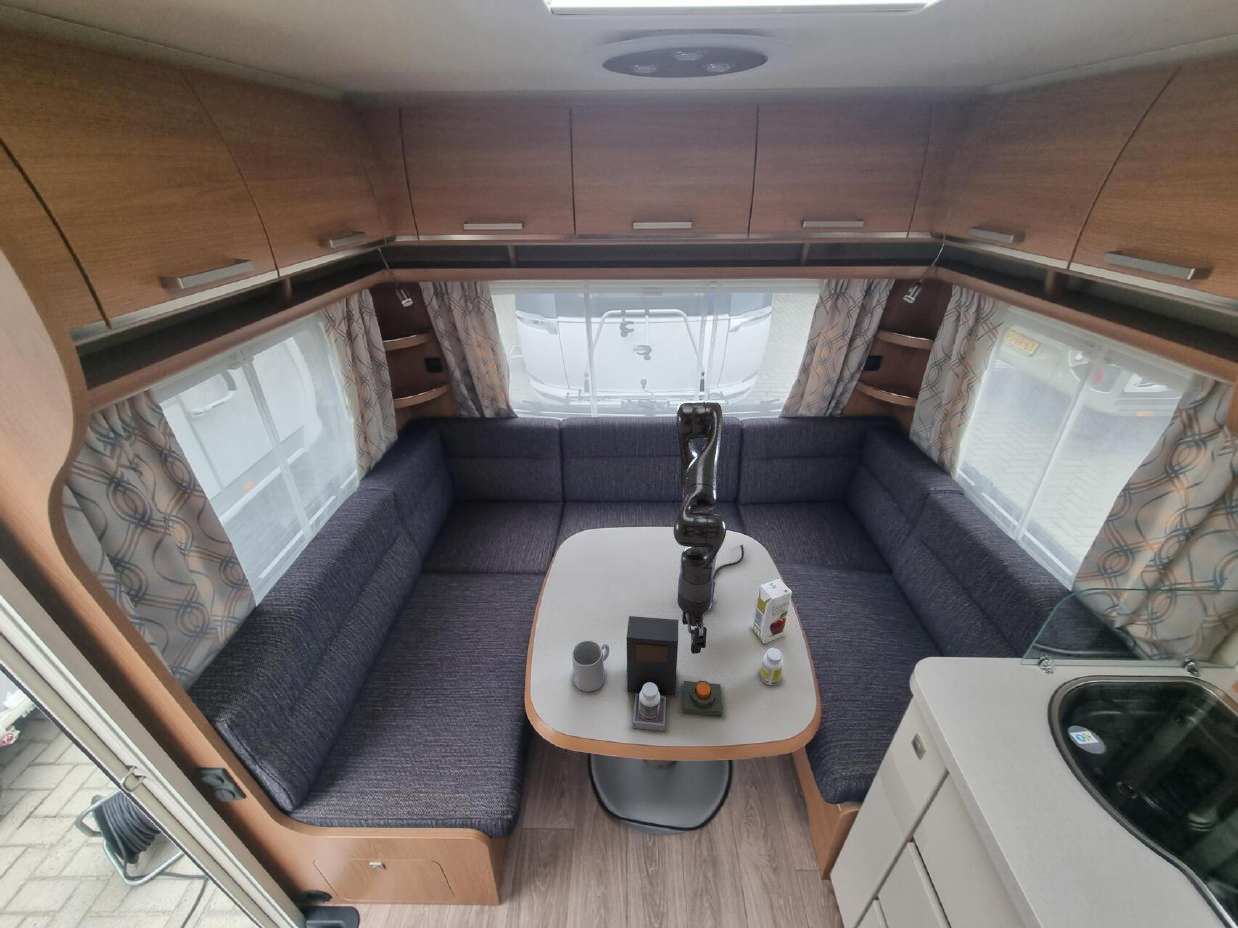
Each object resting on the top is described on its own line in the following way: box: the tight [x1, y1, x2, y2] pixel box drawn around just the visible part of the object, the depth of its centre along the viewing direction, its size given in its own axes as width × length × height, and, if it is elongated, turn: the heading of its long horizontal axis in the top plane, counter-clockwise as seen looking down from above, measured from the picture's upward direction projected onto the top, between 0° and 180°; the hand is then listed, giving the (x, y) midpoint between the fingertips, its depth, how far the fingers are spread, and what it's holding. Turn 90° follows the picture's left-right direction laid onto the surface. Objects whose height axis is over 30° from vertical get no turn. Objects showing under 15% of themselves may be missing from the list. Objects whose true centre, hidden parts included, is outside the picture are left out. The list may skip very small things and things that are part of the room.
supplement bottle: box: [759, 647, 784, 686], centre depth 135 cm, size 5×5×10 cm
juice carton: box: [751, 577, 793, 645], centre depth 145 cm, size 8×9×19 cm
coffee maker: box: [625, 615, 680, 732], centre depth 127 cm, size 17×13×22 cm
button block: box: [682, 680, 723, 717], centre depth 130 cm, size 8×10×4 cm
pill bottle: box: [639, 682, 660, 721], centre depth 126 cm, size 5×5×10 cm
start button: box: [696, 682, 710, 699], centre depth 129 cm, size 4×4×2 cm
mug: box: [571, 640, 610, 693], centre depth 136 cm, size 12×8×11 cm
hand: (691, 637), depth 117 cm, fingers open, 8 cm apart
